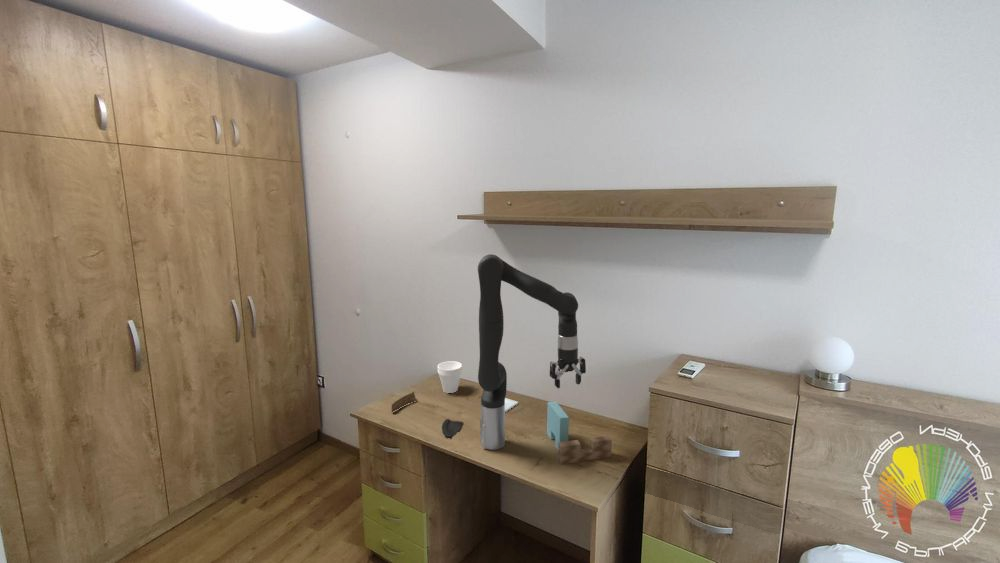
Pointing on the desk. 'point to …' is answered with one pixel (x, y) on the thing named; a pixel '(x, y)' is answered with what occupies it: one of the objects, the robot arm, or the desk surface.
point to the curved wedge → (451, 427)
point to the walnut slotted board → (584, 450)
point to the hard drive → (509, 404)
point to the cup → (450, 375)
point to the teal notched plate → (557, 423)
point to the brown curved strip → (403, 401)
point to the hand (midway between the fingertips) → (567, 385)
